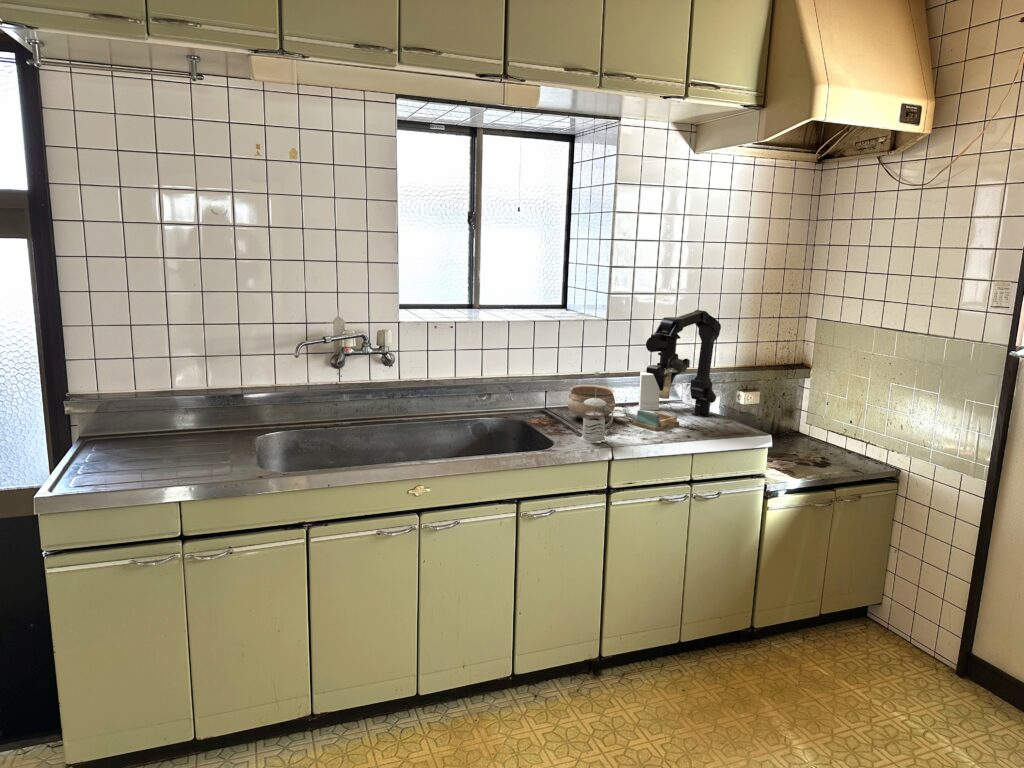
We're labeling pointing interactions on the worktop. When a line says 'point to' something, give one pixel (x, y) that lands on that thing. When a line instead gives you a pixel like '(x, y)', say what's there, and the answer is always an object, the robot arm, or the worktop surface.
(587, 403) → the french press
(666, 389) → the peg
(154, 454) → the worktop surface
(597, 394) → the cooking pot
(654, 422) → the cradle
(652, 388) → the skincare box
